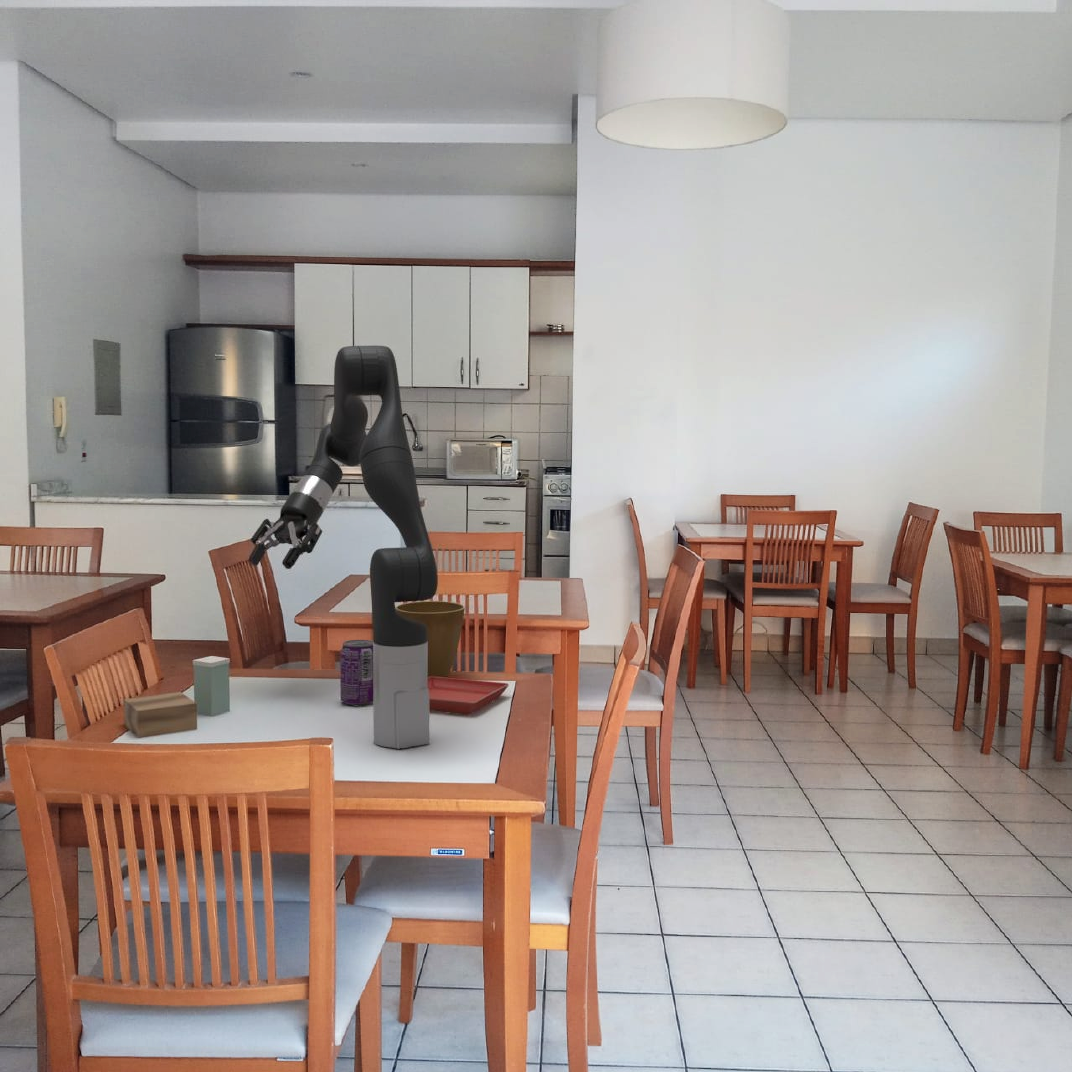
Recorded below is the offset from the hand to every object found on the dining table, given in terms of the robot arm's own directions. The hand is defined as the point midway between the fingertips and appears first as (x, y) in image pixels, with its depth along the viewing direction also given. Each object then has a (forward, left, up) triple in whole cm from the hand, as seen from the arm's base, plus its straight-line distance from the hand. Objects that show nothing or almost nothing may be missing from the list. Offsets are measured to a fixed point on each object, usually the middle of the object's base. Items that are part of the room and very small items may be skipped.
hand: (268, 564), depth 201 cm
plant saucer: (-21, -28, -28) cm, 45 cm away
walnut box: (-7, +24, -27) cm, 37 cm away
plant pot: (-1, -35, -27) cm, 45 cm away
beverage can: (-11, -13, -27) cm, 32 cm away
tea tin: (-2, +13, -27) cm, 30 cm away
